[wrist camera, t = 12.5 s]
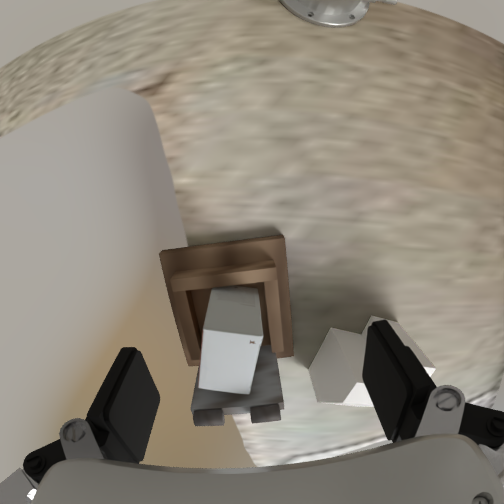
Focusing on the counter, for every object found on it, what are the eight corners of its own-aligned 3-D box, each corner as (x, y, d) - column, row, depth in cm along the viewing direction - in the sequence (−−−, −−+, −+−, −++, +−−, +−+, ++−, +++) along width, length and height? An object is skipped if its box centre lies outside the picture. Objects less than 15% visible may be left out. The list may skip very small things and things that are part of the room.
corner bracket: (398, 322, 40) (436, 368, 28) (364, 378, 43) (389, 429, 31) (340, 307, 39) (371, 359, 27) (308, 369, 42) (324, 427, 30)
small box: (213, 280, 35) (202, 326, 25) (259, 287, 36) (264, 335, 26) (206, 335, 38) (196, 389, 27) (248, 341, 38) (249, 396, 28)
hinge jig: (283, 234, 35) (306, 281, 22) (292, 349, 40) (309, 424, 27) (162, 250, 35) (118, 301, 22) (190, 360, 40) (172, 434, 27)
